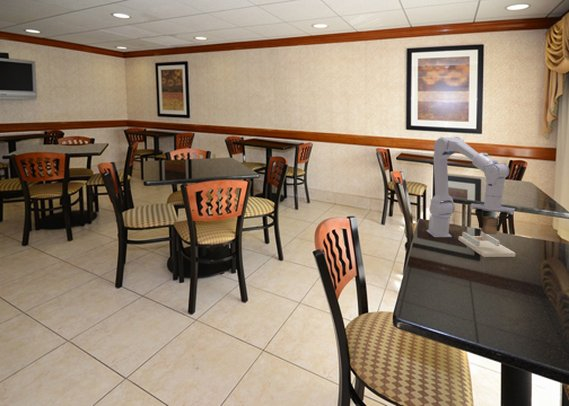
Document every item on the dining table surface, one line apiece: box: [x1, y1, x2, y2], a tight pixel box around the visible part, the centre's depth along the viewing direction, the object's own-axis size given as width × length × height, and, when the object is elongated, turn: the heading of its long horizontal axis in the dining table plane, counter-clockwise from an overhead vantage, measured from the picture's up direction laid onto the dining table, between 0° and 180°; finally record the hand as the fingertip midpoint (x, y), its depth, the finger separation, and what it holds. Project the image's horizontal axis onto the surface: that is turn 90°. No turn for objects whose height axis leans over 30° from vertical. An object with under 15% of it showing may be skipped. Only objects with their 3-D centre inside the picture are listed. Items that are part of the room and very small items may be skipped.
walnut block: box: [480, 216, 499, 235], centre depth 137 cm, size 4×4×6 cm
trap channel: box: [457, 231, 516, 258], centre depth 144 cm, size 20×12×4 cm, turn 0°
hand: (489, 229), depth 138 cm, fingers closed on walnut block, 5 cm apart
